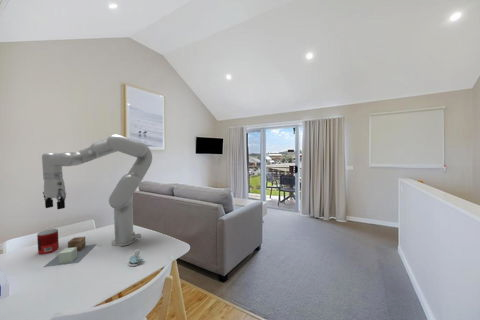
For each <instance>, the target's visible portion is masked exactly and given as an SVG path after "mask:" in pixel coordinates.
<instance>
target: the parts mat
mask: <svg viewBox="0 0 480 320" xmlns="http://www.w3.org/2000/svg"><path fill="white" fill-rule="evenodd" d="M97 245H98V243H97V244H87V245H86V246H85V247H84V248H83V249H82V250H81V251H77V258H76V259H74V260H73V261H72V262H69V263H61V264H59V254H58V255H57V256H55V257H54V258H52V260H50V261H49V262H48V263H46V264H45V265H43V268H48V267H58V266H63V265H71V264H72V265H73V264H78V263H80V262H81V261H82V260H83V259H84V258H85V257H86V256H87V255H88V254H89V253H90V252H91V251H92V250H93V249H94V248H95V247H96V246H97Z"/></svg>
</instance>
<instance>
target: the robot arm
mask: <svg viewBox="0 0 480 320" xmlns="http://www.w3.org/2000/svg"><path fill="white" fill-rule="evenodd" d="M116 152H120V153H123V154H126V155H128V156H130V157H134V158H136V159H135V161H134V163H133V164H132V167H131V168H130V169H129V171H128V172H127V173H126V174H124V175H123V176H122V177H120V179H119V181H118V182H117V184H116V185H115V188H114V189H113V191H112V192H111V194H110V195H109V198H108V204H109V205H110V207H111V208H112V209H113V224H114V239H113V240H112V241H111V245H112V247H126V246H128V245H132V244H134V243H135V242H136V241H137V239H141V238H142V234H141V233H136V231H134V210H133V208H134V194H135V192H136V190H137V189H138V187H139V186H140V185H141V183H142V181H143V180H144V178H145V176H146V174H147V172H148V171H149V169H150V167H151V165H152V162H153V152H152V151H151V149H150V147H149V146H148V145H147V144H145V143H143V142H140V141H136V140H134V139H131V138H129V137H125V136H124V135H121V134H118V133H114V134H110V135H109V136H108V137H107V138H105V139H101V140H99V141H95V142H93V143H91V145H89V147H86V148H84V149H80V150H78V151H74V152H73V151H72V152H71V151H69V152H59V153H58V152H47V153H43V154H42V155H41V163H42V176H43V177H42V178H43V192H42V194H43V198H44V199H43V201H44V202H45V203H44V207H45V209H49V208H53V207H54V199H56V201H57V202H56V209H57V210H62V209H65V208H66V205H65V204H66V202H65V201H66V197H67V193H66V186H65V181H64V178H63V167H72V166H73V167H75V166H79V165H82V164H85V163H88V162H91V161H94V160H96V159H99V158H102V157H106V156H108V155H110V154H113V153H116Z"/></svg>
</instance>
